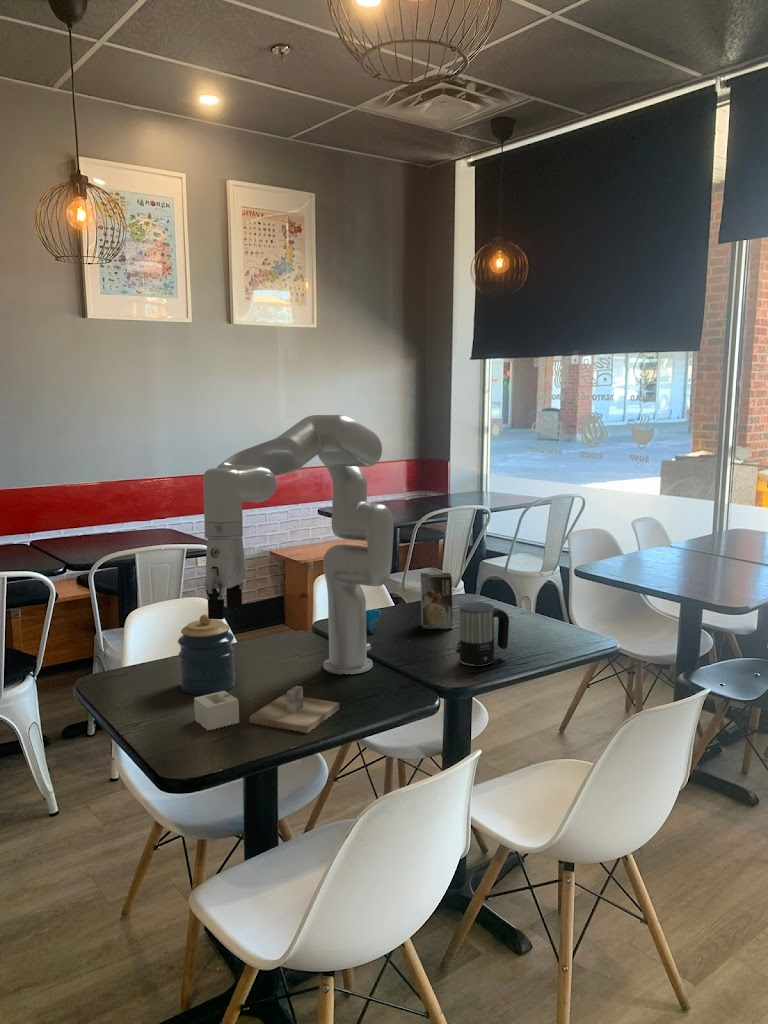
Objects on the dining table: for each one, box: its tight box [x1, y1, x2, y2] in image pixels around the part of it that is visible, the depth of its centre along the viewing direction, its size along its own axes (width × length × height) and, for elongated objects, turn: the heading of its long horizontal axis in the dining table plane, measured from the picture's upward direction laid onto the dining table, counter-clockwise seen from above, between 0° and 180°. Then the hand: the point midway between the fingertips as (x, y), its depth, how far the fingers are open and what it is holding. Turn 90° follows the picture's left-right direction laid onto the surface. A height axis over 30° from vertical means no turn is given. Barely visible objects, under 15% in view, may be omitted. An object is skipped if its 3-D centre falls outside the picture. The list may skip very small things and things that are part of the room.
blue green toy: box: [366, 608, 382, 631], centre depth 232 cm, size 11×6×10 cm
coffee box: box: [420, 572, 454, 628], centre depth 237 cm, size 9×6×16 cm
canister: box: [177, 613, 236, 696], centre depth 189 cm, size 13×13×18 cm
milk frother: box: [456, 601, 510, 665], centre depth 209 cm, size 14×16×15 cm
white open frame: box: [193, 690, 240, 731], centre depth 168 cm, size 7×7×5 cm
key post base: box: [249, 685, 340, 734], centre depth 171 cm, size 14×14×6 cm
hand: (225, 613), depth 161 cm, fingers open, 9 cm apart
